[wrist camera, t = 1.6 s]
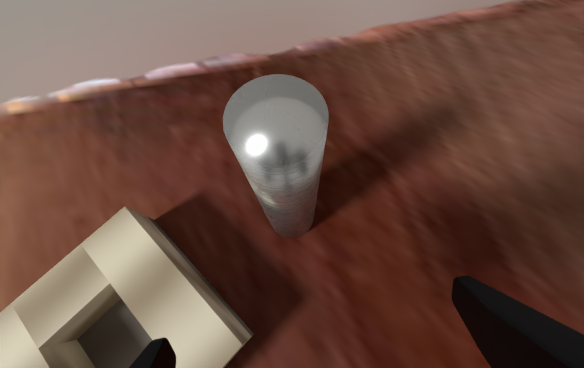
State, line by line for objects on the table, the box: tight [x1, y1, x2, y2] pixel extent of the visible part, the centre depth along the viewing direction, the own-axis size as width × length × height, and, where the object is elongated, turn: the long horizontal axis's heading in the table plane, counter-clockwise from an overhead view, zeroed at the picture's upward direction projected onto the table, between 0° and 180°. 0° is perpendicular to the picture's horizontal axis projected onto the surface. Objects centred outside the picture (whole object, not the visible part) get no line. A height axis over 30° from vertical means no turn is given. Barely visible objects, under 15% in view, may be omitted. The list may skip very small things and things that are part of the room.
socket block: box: [0, 207, 254, 368], centre depth 18 cm, size 12×12×4 cm
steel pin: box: [223, 74, 329, 238], centre depth 16 cm, size 4×4×14 cm
